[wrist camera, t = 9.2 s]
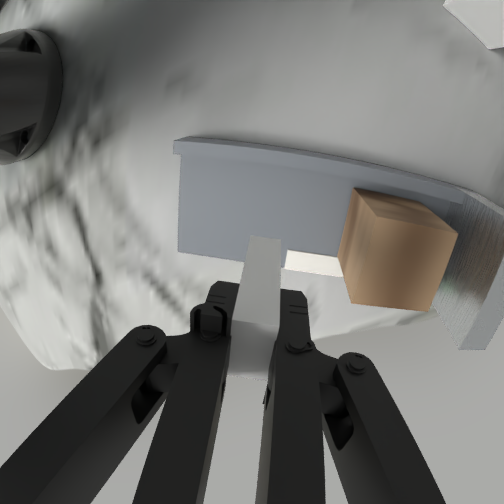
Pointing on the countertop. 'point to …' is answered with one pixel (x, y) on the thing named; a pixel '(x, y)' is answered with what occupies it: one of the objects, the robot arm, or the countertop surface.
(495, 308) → the grey metal block
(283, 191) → the gauge track
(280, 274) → the robot arm
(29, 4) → the countertop surface
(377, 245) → the block
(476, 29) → the milk
